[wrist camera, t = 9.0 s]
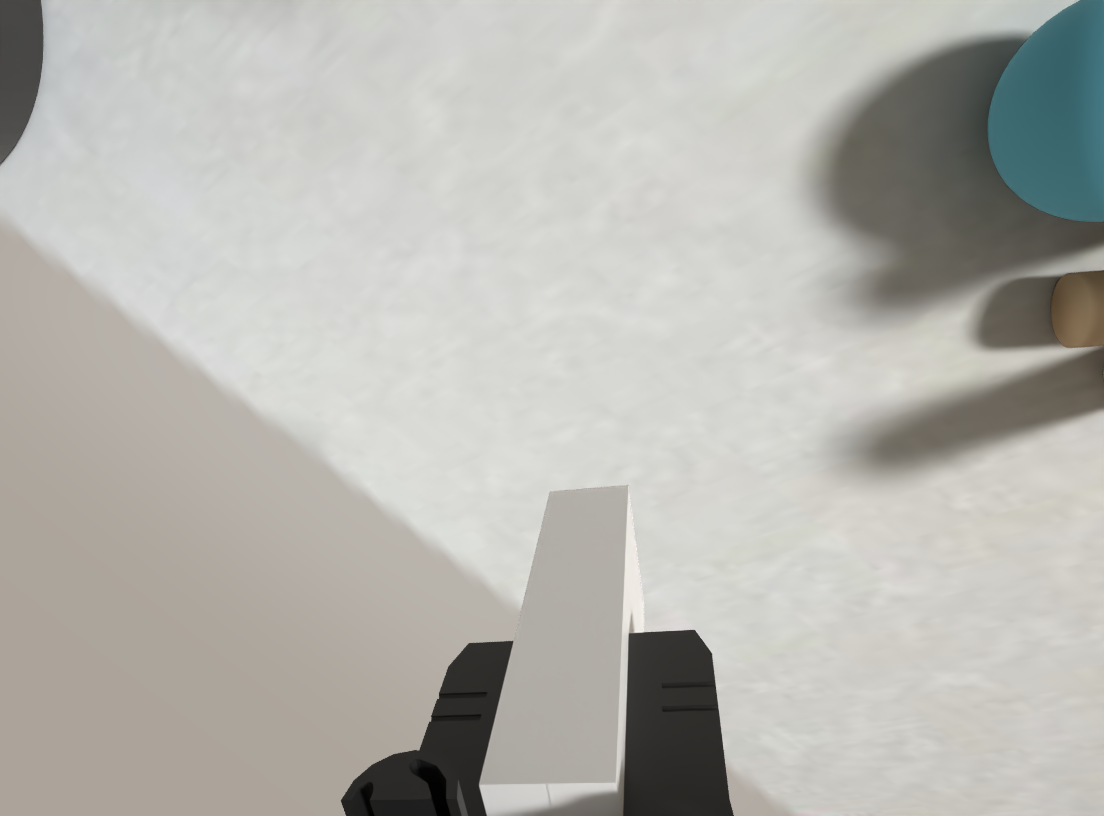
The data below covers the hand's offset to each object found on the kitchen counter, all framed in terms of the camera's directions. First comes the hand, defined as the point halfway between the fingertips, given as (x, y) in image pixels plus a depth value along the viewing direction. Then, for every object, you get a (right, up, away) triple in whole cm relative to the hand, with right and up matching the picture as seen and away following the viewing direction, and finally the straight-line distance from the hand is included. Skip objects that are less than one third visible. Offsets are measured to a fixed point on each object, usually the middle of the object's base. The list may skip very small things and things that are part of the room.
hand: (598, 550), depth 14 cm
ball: (+14, +11, +6) cm, 19 cm away
